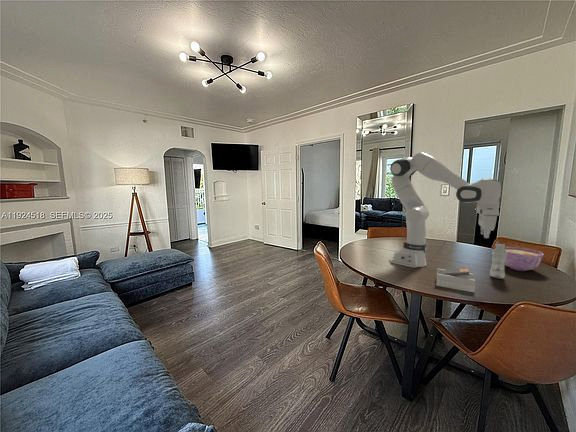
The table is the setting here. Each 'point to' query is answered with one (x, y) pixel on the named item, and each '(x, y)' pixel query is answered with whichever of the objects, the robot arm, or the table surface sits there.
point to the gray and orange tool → (455, 272)
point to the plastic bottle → (498, 261)
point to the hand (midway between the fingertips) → (484, 236)
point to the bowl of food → (522, 258)
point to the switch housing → (456, 281)
